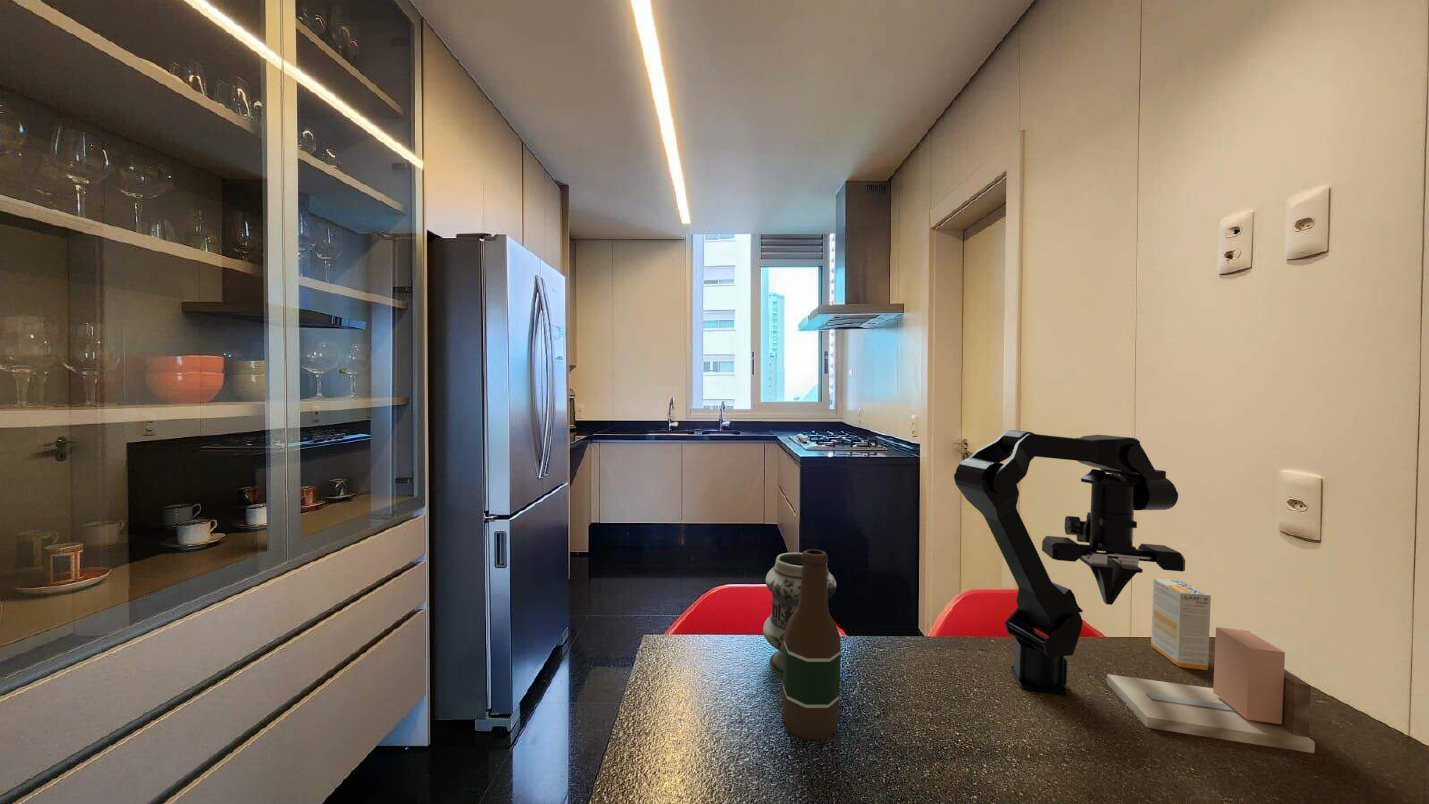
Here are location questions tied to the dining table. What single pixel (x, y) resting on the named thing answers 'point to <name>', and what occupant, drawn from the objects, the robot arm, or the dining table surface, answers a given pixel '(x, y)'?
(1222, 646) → the tan rectangular block
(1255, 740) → the track
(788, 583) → the apothecary jar
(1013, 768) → the dining table surface
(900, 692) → the dining table surface
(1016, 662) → the robot arm
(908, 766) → the dining table surface
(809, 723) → the beer bottle
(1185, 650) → the supplement box
